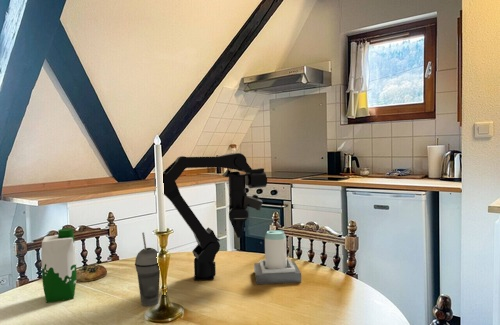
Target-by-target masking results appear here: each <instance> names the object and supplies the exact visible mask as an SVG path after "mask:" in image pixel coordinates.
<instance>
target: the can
mask: <svg viewBox="0 0 500 325" xmlns="http://www.w3.org/2000/svg"><path fill="white" fill-rule="evenodd" d="M287 257H288V256H287V236H286V234H285V232H284V230H280V229H279V230H278V229H271V230H267V231H266V233H265V236H264V260H265V266H266V267H267V268H268V269H278V268H286V267H287V259H288V258H287Z"/></svg>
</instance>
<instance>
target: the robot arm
mask: <svg viewBox="0 0 500 325" xmlns="http://www.w3.org/2000/svg"><path fill="white" fill-rule="evenodd" d="M197 168H198V169H200V168H201V169H202V168H203V169H204V168H221V169H226V171H225V172H224V173H222V174H221V175H222V177H223V178H228V200H229V203H228V204H229V205H228V219H229V221H230V224H231V226H232V229H233V230H234V233H235V235H236V237H237V238H239V239H240V238H242V234H243V227H244V223H245V222H246V221H247V220H248V219H249V211H248V207H249V208H251V209H255V210H257V211H261V208H262V205H263V200H262V199H260V198H259V195H257V194H252V196H249V195H248V193H247V191H246V186H247V187H248V188H249V189H259V188H260V189H261V188H266V187H267V185H268V176H267V175H266V174H267V173H266V172H265V168H264V167H263V168H262V167H259V168H254V169H253V168H252V167H251V166H250V165H249V163H248V161H247V158H246V156H245V154H244V153H241V152H240V153H239V152H233V153H232V152H231V153H228V154H227V153H226V154H221V155H219V156H218V155H217V156H183V155H182V156H178V157H176V159H175V160H174V161H173V162H172V163H171V164H170V165H169V166H168V167H166V169H164V171H162V172H163V183H164V194H163V196H165V197H166V198H167V199H168V200H169V201H170V202H171V203H172V204H171V205H173V206H174V209H176V211H177V212H178V213H179V215H180V216H181V218H182V219H183V220H184V222H185V223H186V225H187V226H188V227H189V229H190V230H191V232H192V233H193V236H194V238H195V241H196V243H197V245H196V246H195V247H194V248H193V249H192V254H193V256H194V257H195V258H194V260H193V264H194V265H193V266H194V268H193V269H194V278H193V281H209V280H211V281H213V280H214V279H215V277H216V271H217V270H216V269H217V268H216V261H215V259H216V255H217V254H218V252H219V251H220V249H221V244H220V238H218V237H217V236H216V234H215V232H214V230H212V228H210V227H207V228H205V227H204V226H203V224H202V222H200V220H199V219H198V217H197V216H196V214H195V213H194V212H193V210H192V208H191V207H190V206H189V204H188V202H186V200H185V199H184V198H183V195H181V192H180V189H179V187H178V185H177V183H176V181H177V180H178V179H179V178H180V176H181V175H182V173H183V172H185V170H186V169H197ZM231 170H236V171H231ZM240 172H242V173H240ZM153 184H154V187H156V179H155V177H154V178H153Z"/></svg>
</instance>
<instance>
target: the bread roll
mask: <svg viewBox="0 0 500 325" xmlns="http://www.w3.org/2000/svg"><path fill="white" fill-rule="evenodd" d="M76 270H77V277H76V282H84V283H86V282H88V283H89V282H94V281H98V280H100V279H102V278H104V277H106V276H107V273H108V271H107V268H106V267H105V266H104V265H102V264H97V265H95V264H88V265H84V266H82V267H80V268H79V269H76Z"/></svg>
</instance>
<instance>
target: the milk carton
mask: <svg viewBox="0 0 500 325" xmlns="http://www.w3.org/2000/svg"><path fill="white" fill-rule="evenodd" d="M57 233H58V234H54V235H47V236H44V238H43V239H42V241H41V249H40V250H41V252H40V256H41V258H40V260H41V276H42V277H41V278H42V280H41V281H42V287H43V288H42V289H43V293H44V298H45V303H46V304H51V303H55V302H61V301H66V300H67V301H68V300H72V299H73V300H74V297H75V293H76V291H75V290H76V285H77V281H76V277H77V270H78V269H77V253H76V252H77V251H76V244H75V235H74V228H70V227H68V228H60V229H58V230H57Z"/></svg>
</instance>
